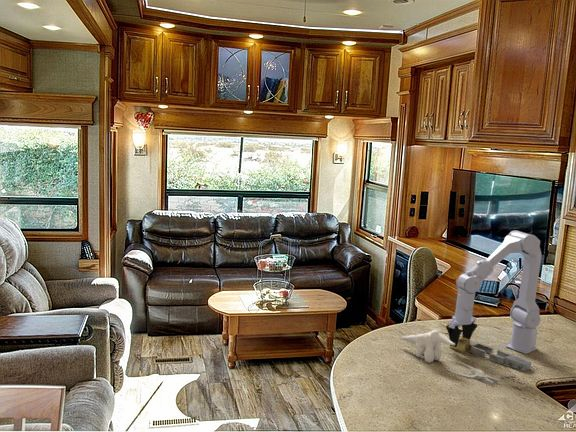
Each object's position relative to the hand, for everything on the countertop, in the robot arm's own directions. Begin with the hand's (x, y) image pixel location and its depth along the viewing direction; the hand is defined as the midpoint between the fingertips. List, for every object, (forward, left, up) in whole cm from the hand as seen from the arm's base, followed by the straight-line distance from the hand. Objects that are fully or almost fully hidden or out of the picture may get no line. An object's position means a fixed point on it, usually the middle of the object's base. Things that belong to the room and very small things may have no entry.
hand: (459, 344), depth 187 cm
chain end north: (-4, +17, -2) cm, 18 cm away
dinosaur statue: (+18, -3, -2) cm, 18 cm away
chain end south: (-4, +3, -2) cm, 6 cm away
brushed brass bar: (0, 0, -2) cm, 2 cm away
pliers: (+16, +15, -3) cm, 22 cm away
